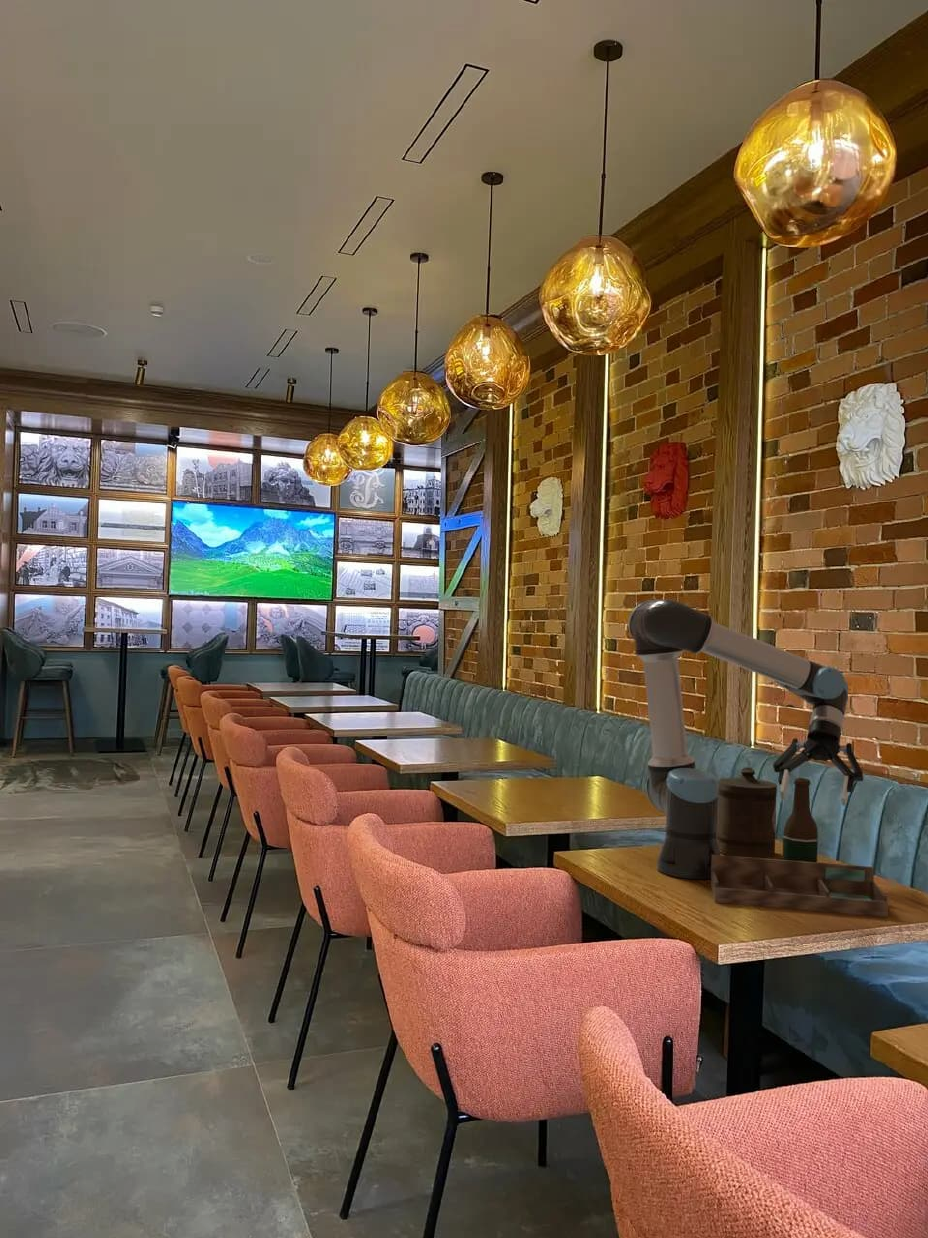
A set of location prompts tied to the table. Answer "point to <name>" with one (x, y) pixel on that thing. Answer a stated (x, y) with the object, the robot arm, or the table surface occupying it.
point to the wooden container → (746, 816)
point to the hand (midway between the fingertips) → (812, 798)
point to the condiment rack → (797, 885)
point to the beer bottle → (800, 827)
